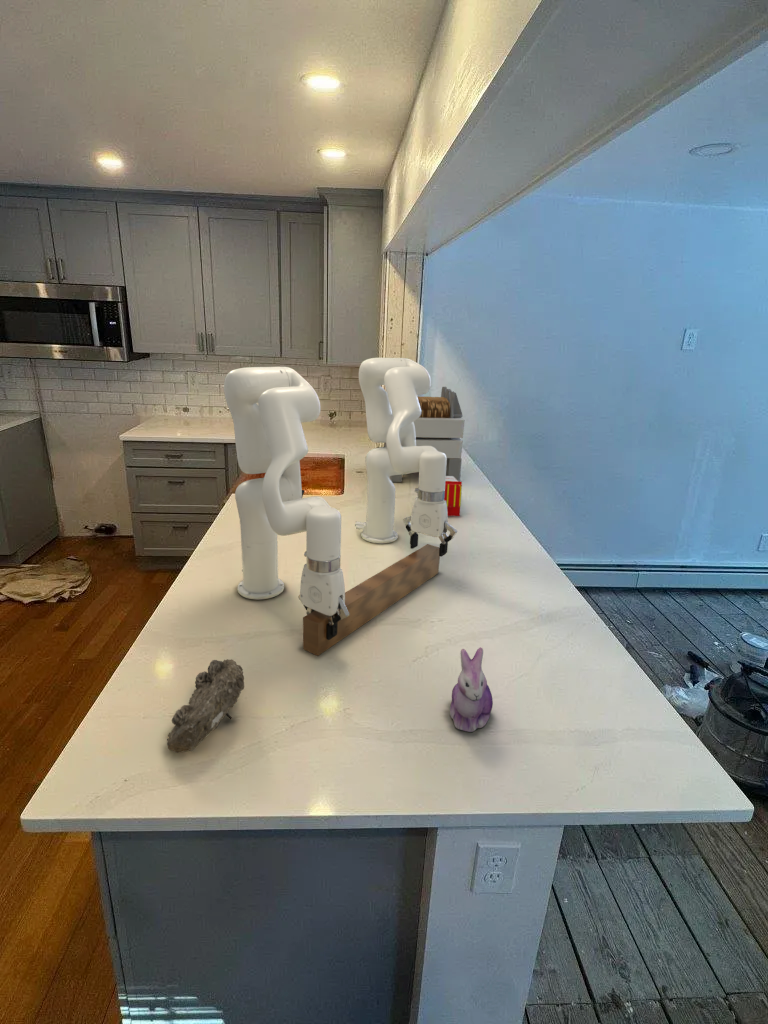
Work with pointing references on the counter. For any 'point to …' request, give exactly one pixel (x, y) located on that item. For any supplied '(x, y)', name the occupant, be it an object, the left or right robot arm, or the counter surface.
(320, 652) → the bar
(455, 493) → the red striped box
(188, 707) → the fossil
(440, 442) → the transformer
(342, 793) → the counter surface
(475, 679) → the figurine
